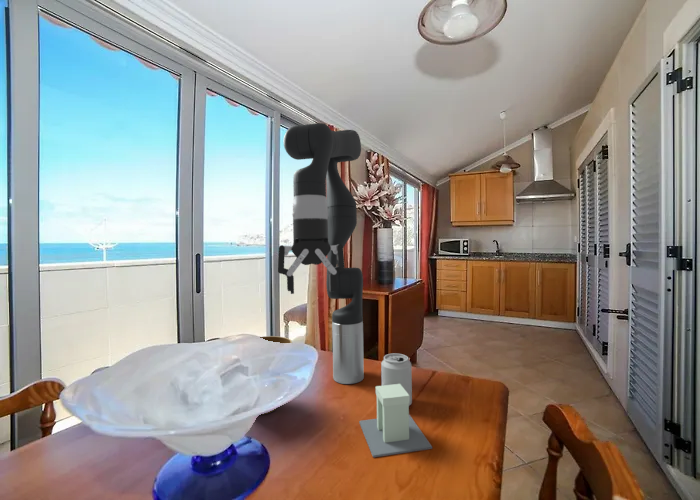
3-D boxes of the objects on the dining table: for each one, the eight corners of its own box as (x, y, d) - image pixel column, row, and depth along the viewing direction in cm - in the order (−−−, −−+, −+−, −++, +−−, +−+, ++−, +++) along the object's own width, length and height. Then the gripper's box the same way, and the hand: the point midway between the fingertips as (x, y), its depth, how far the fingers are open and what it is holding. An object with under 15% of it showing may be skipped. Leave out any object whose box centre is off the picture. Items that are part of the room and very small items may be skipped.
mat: (359, 422, 72) (359, 420, 72) (409, 416, 74) (409, 414, 74) (373, 457, 60) (372, 455, 60) (432, 448, 62) (432, 446, 62)
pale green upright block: (376, 427, 69) (375, 386, 69) (400, 423, 70) (399, 383, 70) (383, 442, 64) (383, 398, 64) (410, 439, 65) (409, 395, 65)
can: (411, 413, 75) (411, 363, 75) (380, 410, 77) (379, 361, 77) (412, 398, 83) (411, 352, 83) (383, 395, 84) (382, 350, 84)
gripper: (340, 219, 74) (341, 288, 74) (277, 219, 71) (279, 291, 72) (345, 216, 67) (347, 293, 67) (276, 216, 64) (278, 296, 64)
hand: (312, 292), depth 69 cm, fingers open, 8 cm apart
